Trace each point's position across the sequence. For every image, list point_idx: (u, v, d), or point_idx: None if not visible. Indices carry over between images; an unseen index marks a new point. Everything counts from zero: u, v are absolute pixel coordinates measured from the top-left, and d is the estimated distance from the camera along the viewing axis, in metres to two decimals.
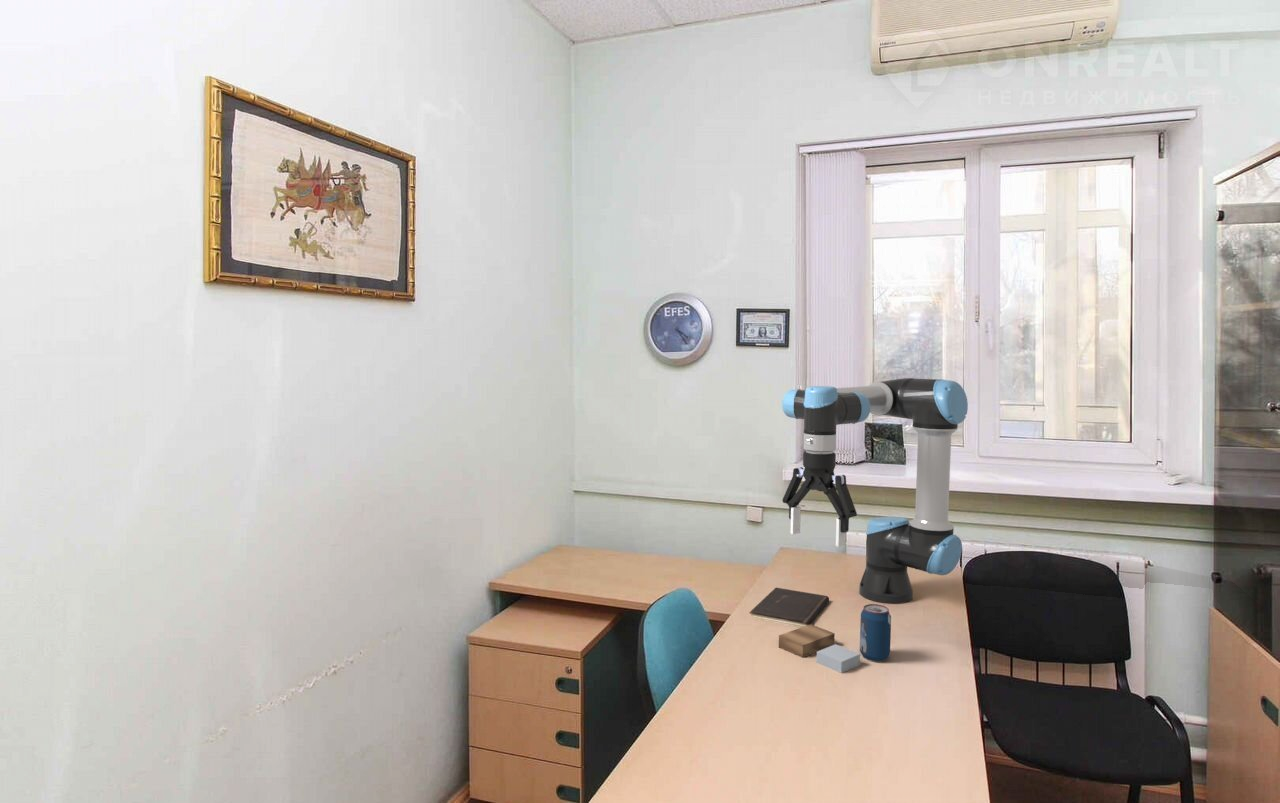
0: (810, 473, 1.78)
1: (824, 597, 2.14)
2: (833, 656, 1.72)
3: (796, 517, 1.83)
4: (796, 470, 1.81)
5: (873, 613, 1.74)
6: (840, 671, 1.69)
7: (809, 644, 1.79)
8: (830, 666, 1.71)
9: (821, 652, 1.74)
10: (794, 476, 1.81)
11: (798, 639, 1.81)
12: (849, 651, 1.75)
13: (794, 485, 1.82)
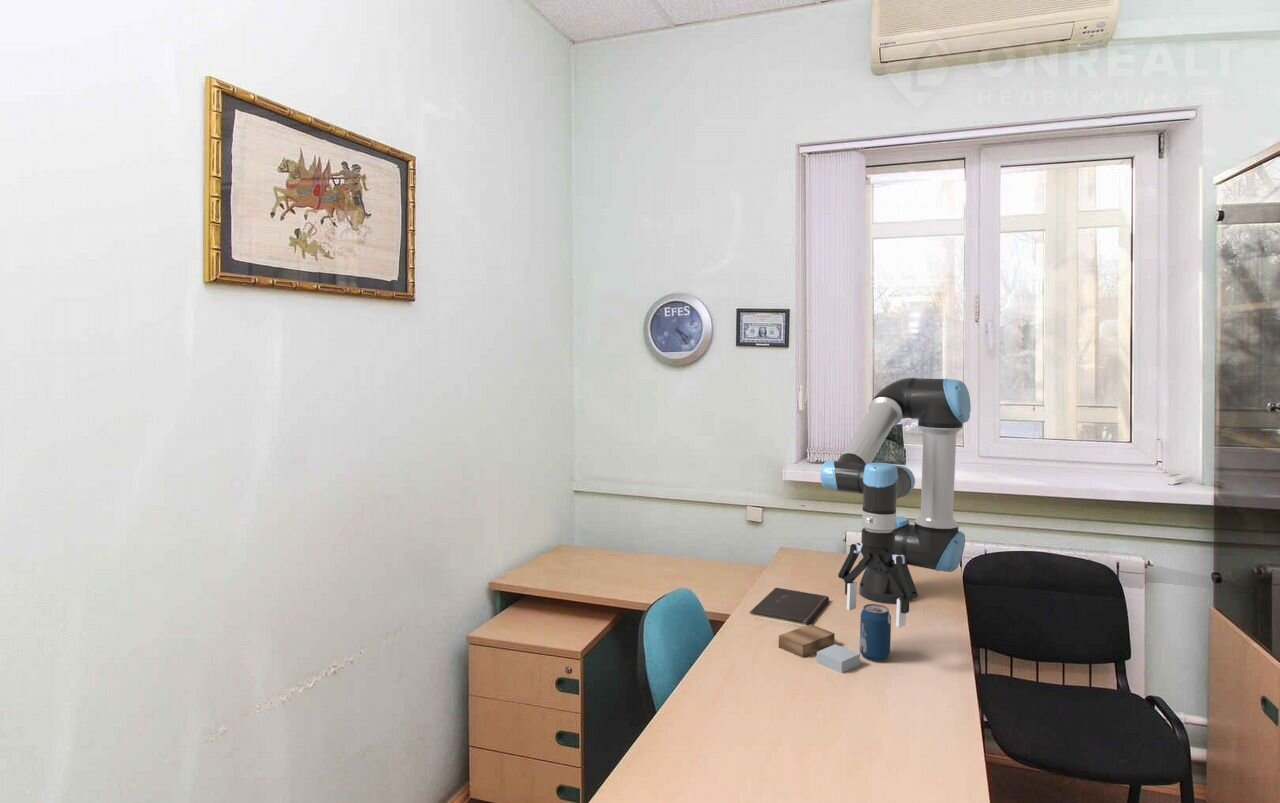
0: (868, 551, 1.76)
1: (824, 597, 2.14)
2: (833, 656, 1.72)
3: (852, 593, 1.81)
4: (853, 546, 1.79)
5: (873, 613, 1.74)
6: (840, 671, 1.69)
7: (809, 644, 1.79)
8: (830, 666, 1.71)
9: (821, 652, 1.74)
10: (851, 552, 1.80)
11: (798, 639, 1.81)
12: (849, 651, 1.75)
13: (851, 561, 1.81)
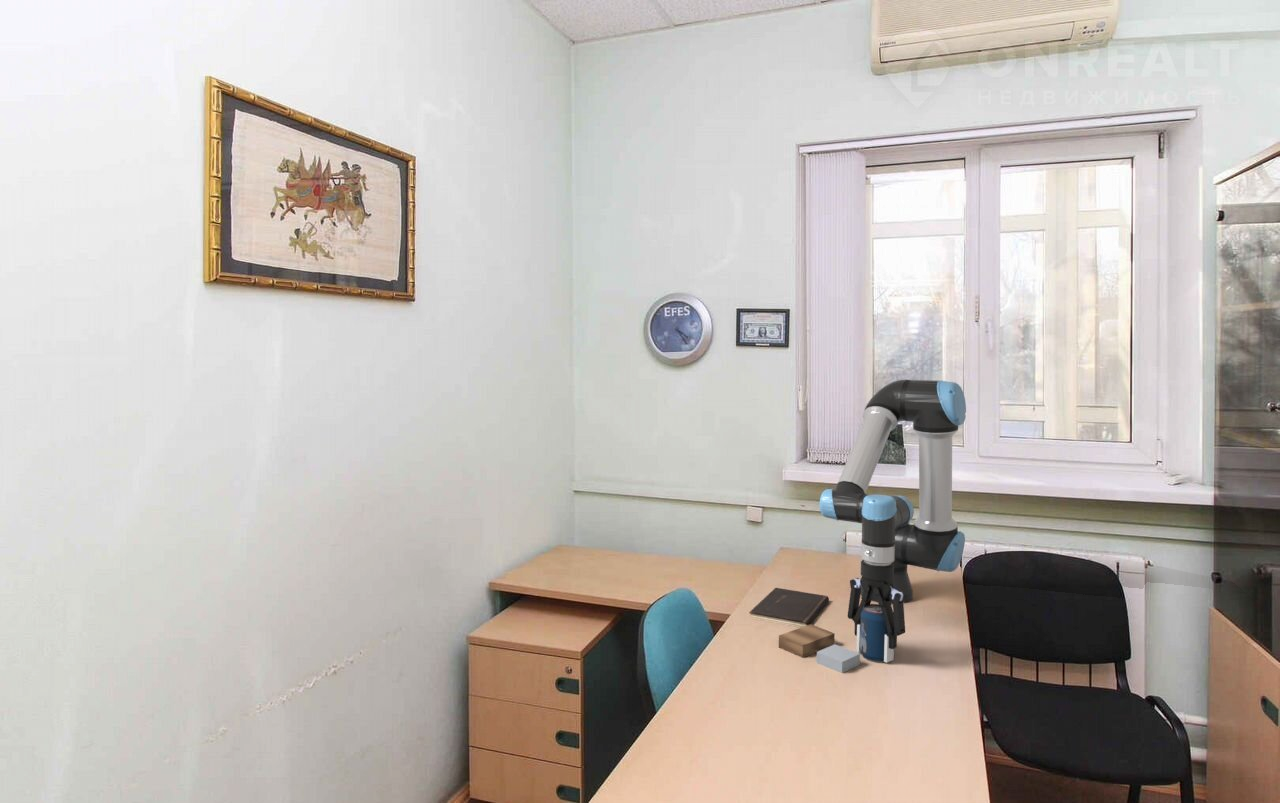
0: (867, 580, 1.77)
1: (824, 597, 2.14)
2: (833, 656, 1.72)
3: None
4: (852, 581, 1.80)
5: (873, 613, 1.74)
6: (841, 671, 1.69)
7: (809, 644, 1.79)
8: (830, 666, 1.71)
9: (821, 652, 1.74)
10: (852, 588, 1.80)
11: (798, 639, 1.81)
12: (849, 651, 1.75)
13: (855, 597, 1.80)
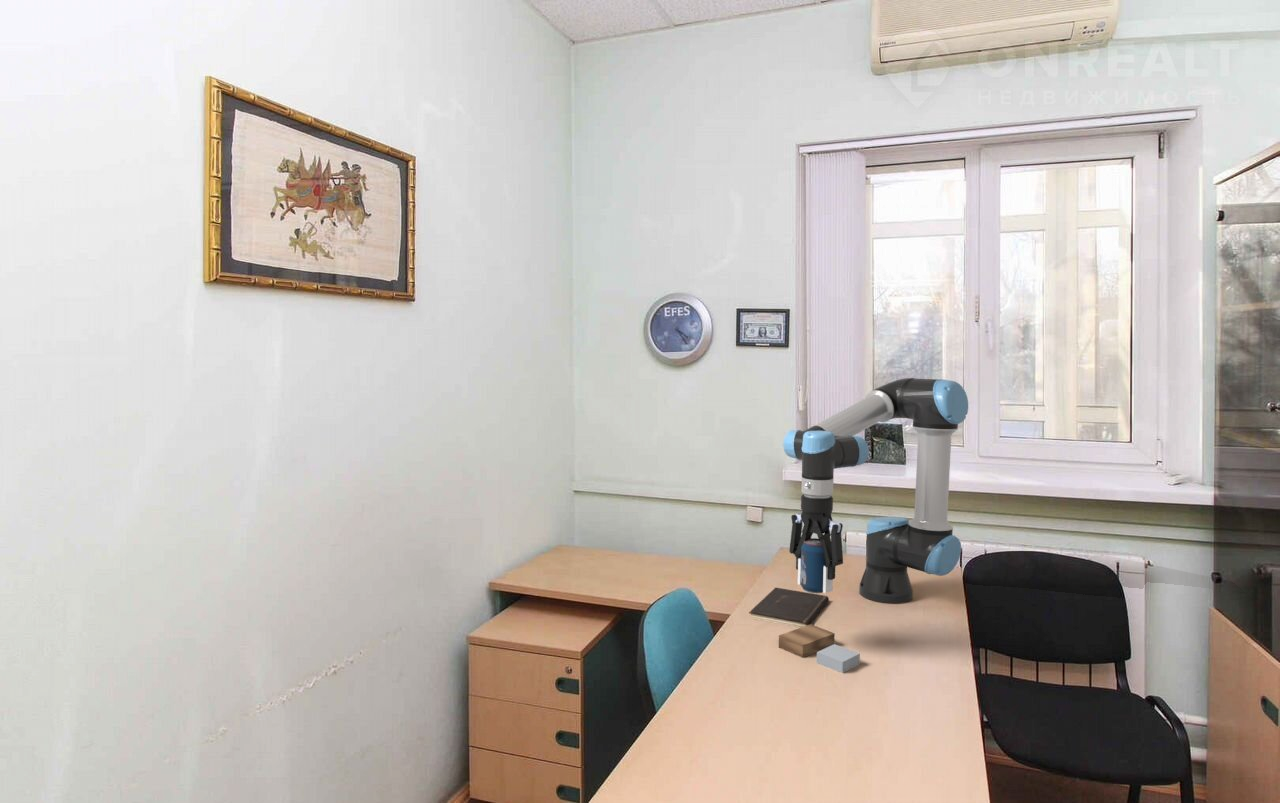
0: (807, 514, 1.81)
1: (824, 597, 2.14)
2: (833, 656, 1.72)
3: None
4: (794, 516, 1.84)
5: (812, 545, 1.78)
6: (841, 671, 1.69)
7: (809, 644, 1.79)
8: (831, 666, 1.71)
9: (821, 653, 1.74)
10: (794, 523, 1.84)
11: (798, 639, 1.81)
12: (849, 651, 1.75)
13: (796, 532, 1.85)
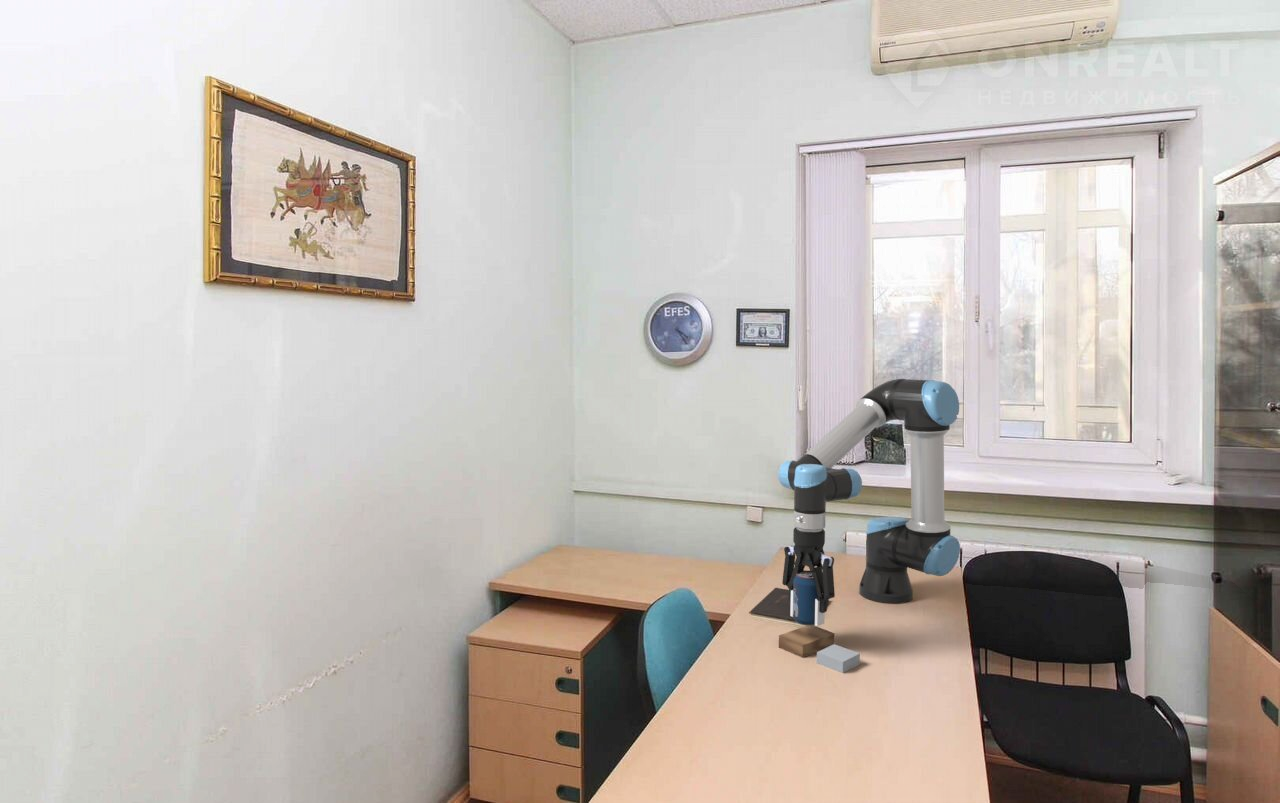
0: (799, 547, 1.83)
1: None
2: (833, 656, 1.72)
3: None
4: (787, 548, 1.86)
5: (804, 578, 1.80)
6: (841, 671, 1.69)
7: (809, 644, 1.79)
8: (831, 666, 1.71)
9: (821, 653, 1.74)
10: (786, 555, 1.86)
11: (798, 639, 1.81)
12: (849, 651, 1.75)
13: (789, 564, 1.86)
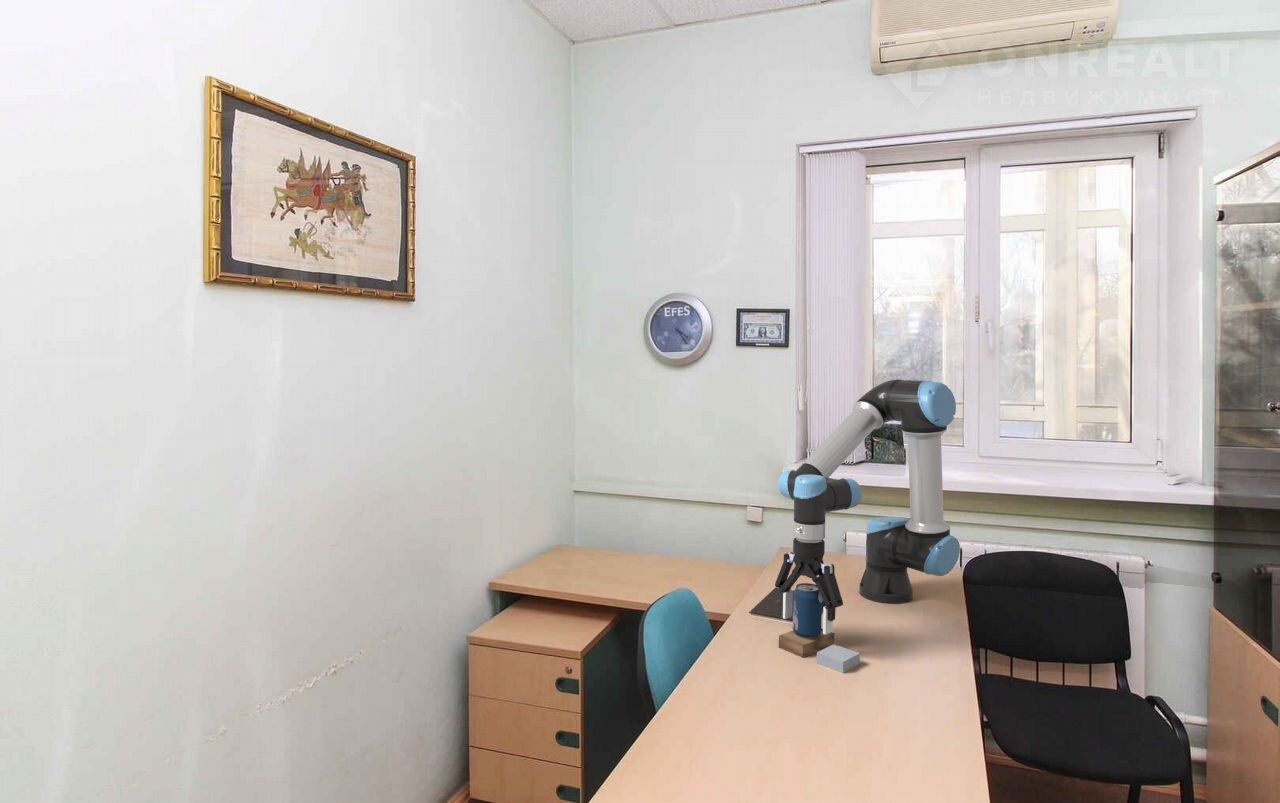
0: (800, 559, 1.83)
1: None
2: (833, 656, 1.72)
3: (788, 602, 1.88)
4: (786, 555, 1.86)
5: (804, 591, 1.80)
6: (842, 671, 1.69)
7: (809, 644, 1.79)
8: (831, 666, 1.71)
9: (821, 653, 1.74)
10: (785, 561, 1.87)
11: (798, 639, 1.81)
12: (848, 651, 1.75)
13: (785, 570, 1.87)
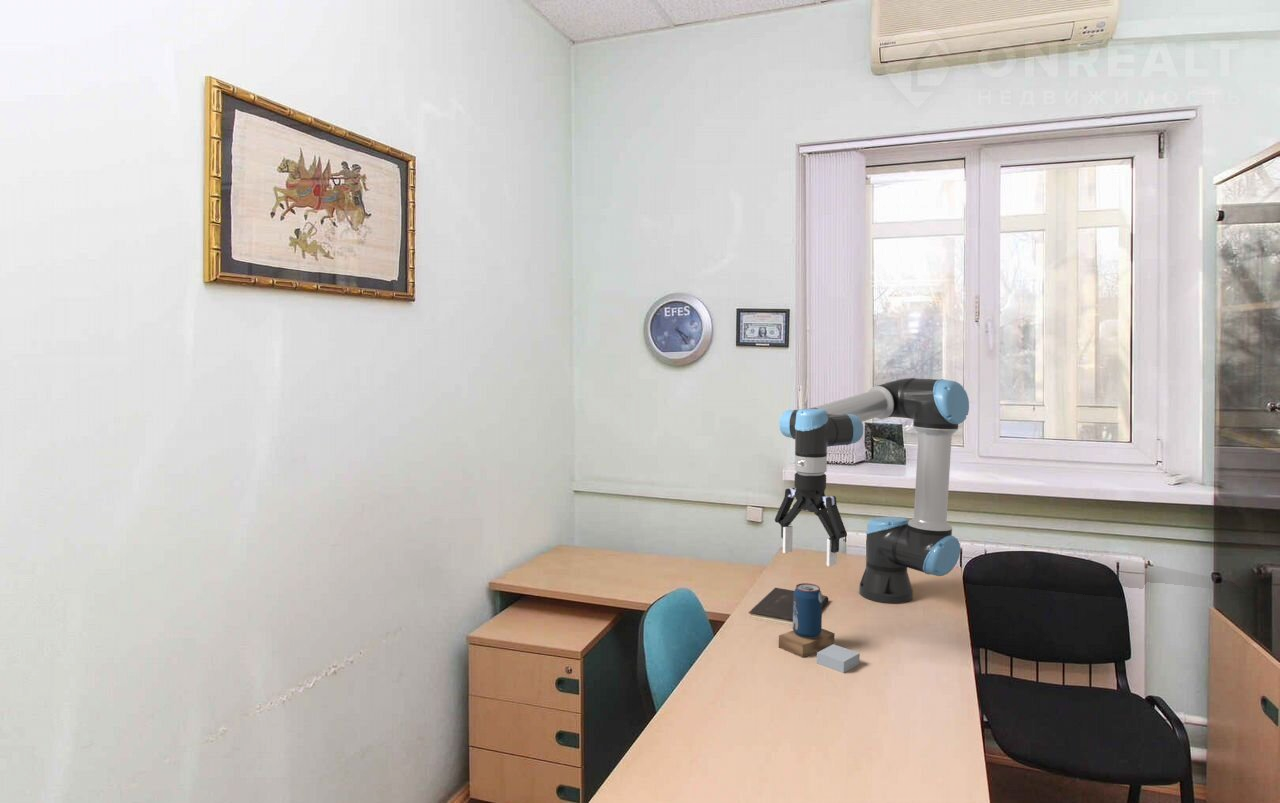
0: (801, 494, 1.81)
1: (823, 597, 2.14)
2: (834, 656, 1.72)
3: (788, 536, 1.87)
4: (788, 491, 1.85)
5: (804, 591, 1.80)
6: (842, 671, 1.69)
7: (809, 644, 1.79)
8: (831, 666, 1.71)
9: (821, 653, 1.74)
10: (786, 496, 1.85)
11: (798, 639, 1.81)
12: (848, 651, 1.75)
13: (786, 505, 1.86)
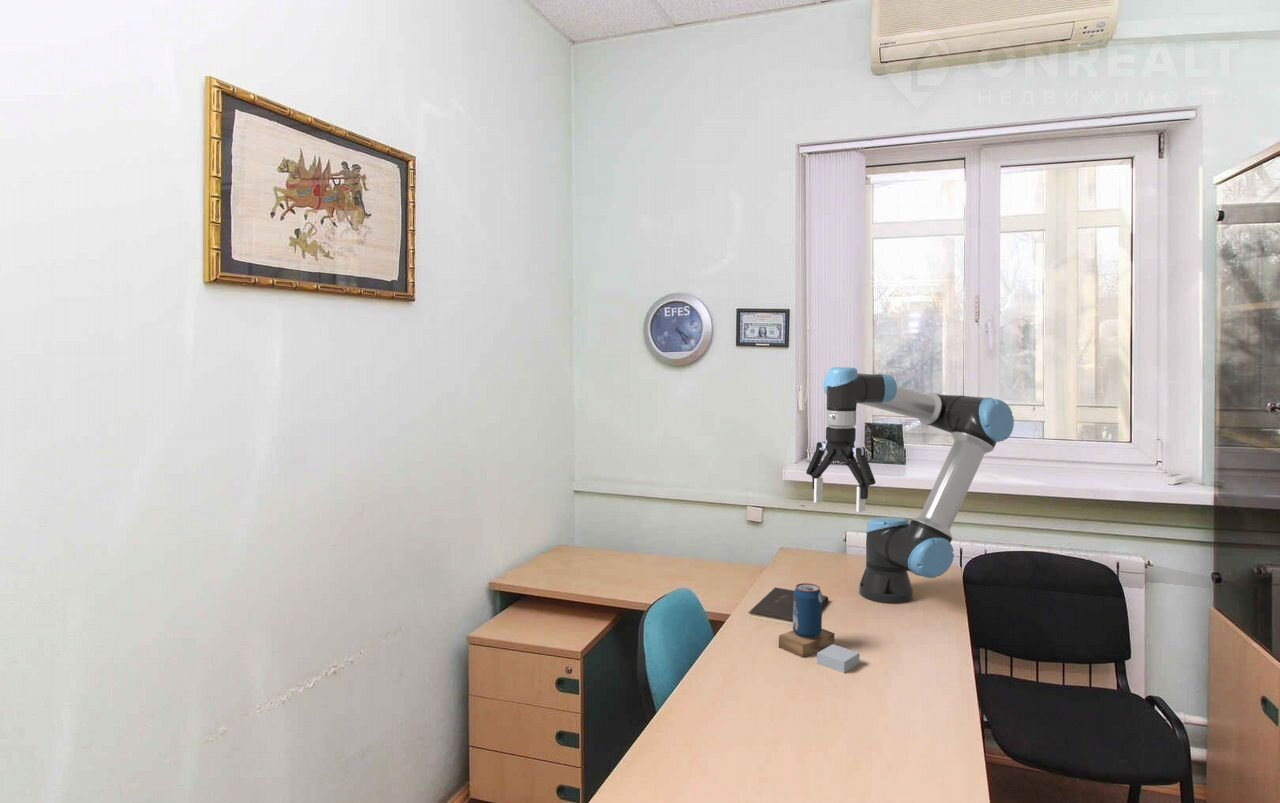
0: (832, 446, 1.96)
1: (823, 597, 2.14)
2: (834, 656, 1.72)
3: (819, 487, 2.01)
4: (819, 444, 1.99)
5: (804, 591, 1.80)
6: (843, 671, 1.69)
7: (809, 644, 1.79)
8: (832, 667, 1.71)
9: (821, 653, 1.73)
10: (817, 449, 1.99)
11: (798, 639, 1.81)
12: (848, 650, 1.75)
13: (817, 458, 2.00)
